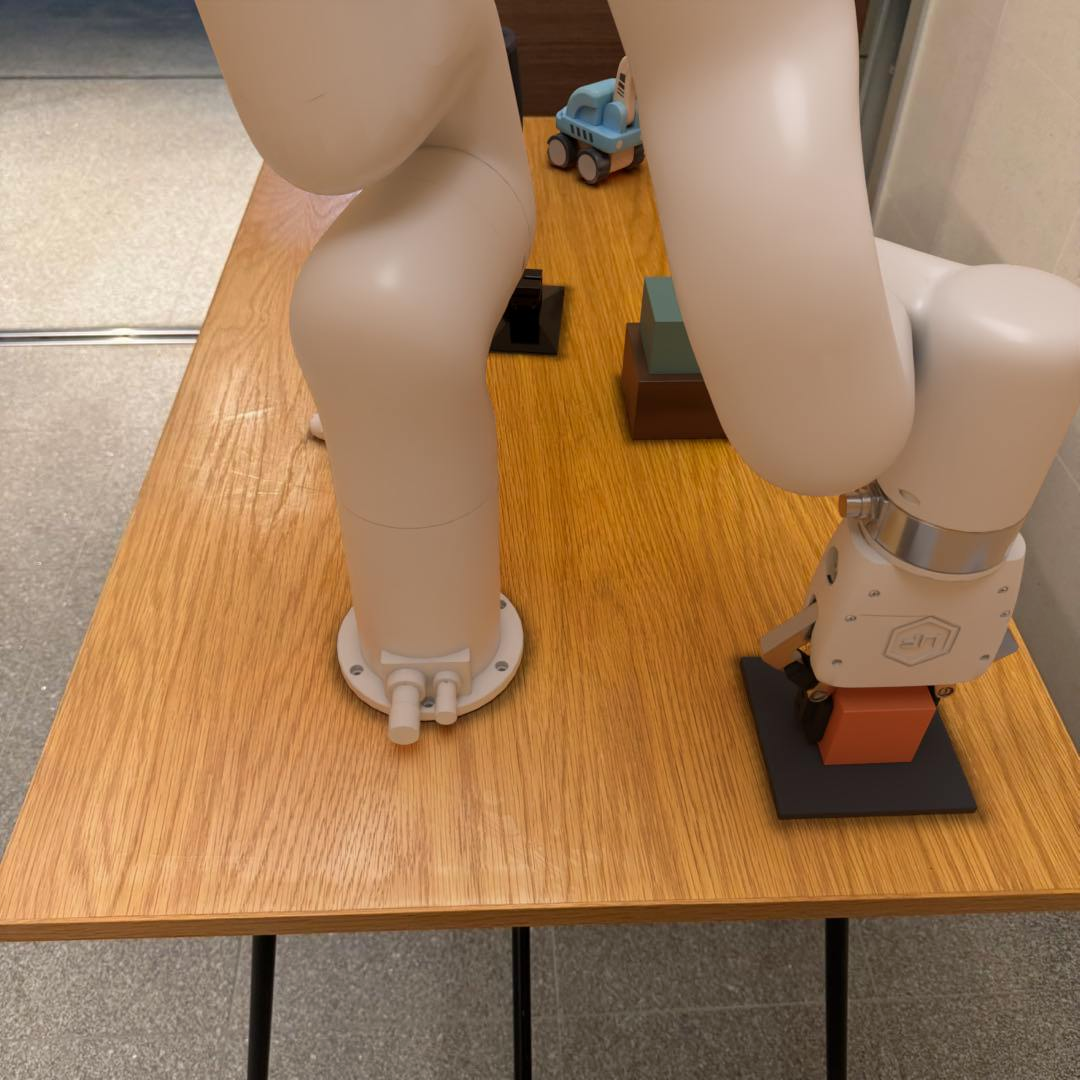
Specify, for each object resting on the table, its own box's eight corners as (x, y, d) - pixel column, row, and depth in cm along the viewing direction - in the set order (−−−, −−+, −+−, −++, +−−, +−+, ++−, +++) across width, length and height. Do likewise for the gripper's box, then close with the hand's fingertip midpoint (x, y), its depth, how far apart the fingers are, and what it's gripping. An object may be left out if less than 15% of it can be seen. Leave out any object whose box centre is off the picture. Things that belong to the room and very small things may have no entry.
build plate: (557, 357, 94) (558, 314, 91) (480, 353, 95) (479, 310, 91) (565, 289, 103) (566, 247, 100) (494, 285, 104) (494, 243, 100)
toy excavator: (636, 208, 117) (650, 53, 105) (540, 162, 125) (543, 14, 114) (685, 187, 121) (703, 36, 109) (588, 144, 130) (596, 0, 118)
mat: (975, 812, 60) (978, 807, 60) (778, 819, 59) (780, 814, 59) (912, 657, 69) (914, 651, 68) (739, 662, 68) (741, 656, 68)
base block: (736, 438, 86) (747, 380, 82) (632, 439, 85) (638, 381, 81) (717, 377, 92) (727, 321, 88) (621, 378, 92) (626, 322, 88)
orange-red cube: (911, 762, 62) (937, 708, 58) (823, 765, 61) (843, 712, 58) (885, 691, 66) (907, 636, 62) (802, 693, 65) (819, 639, 62)
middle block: (733, 373, 82) (743, 320, 79) (649, 374, 82) (655, 321, 79) (718, 327, 87) (726, 275, 84) (639, 328, 87) (644, 276, 84)
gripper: (790, 566, 47) (734, 777, 60) (1141, 557, 48) (1013, 767, 61) (758, 466, 53) (713, 678, 65) (1073, 458, 54) (969, 670, 66)
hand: (858, 719), depth 63 cm, fingers closed on orange-red cube, 5 cm apart
